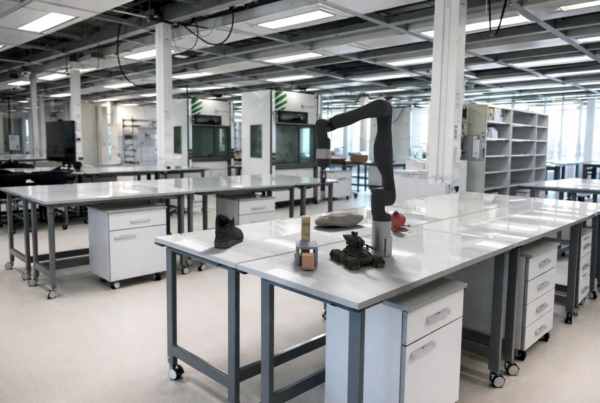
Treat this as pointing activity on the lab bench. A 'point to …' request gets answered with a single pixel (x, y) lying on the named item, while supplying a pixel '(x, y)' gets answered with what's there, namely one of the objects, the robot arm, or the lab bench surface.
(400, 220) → the toy
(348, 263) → the toy tank
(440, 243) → the lab bench surface
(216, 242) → the sneaker
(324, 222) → the stone
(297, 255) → the tunnel
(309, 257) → the block
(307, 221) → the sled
